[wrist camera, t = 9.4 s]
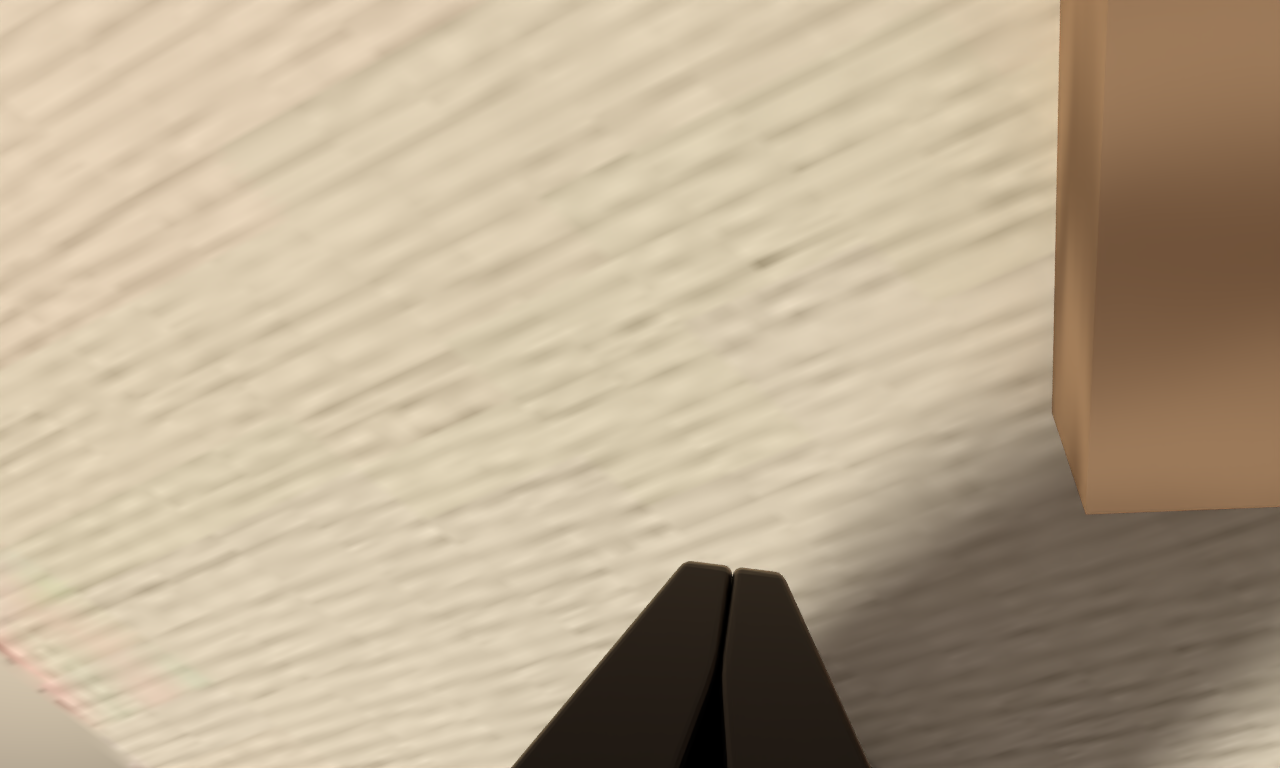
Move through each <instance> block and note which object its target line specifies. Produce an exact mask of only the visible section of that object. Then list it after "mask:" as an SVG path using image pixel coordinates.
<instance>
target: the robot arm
mask: <svg viewBox="0 0 1280 768" xmlns="http://www.w3.org/2000/svg"><path fill="white" fill-rule="evenodd" d="M511 768H871V767H870V765H869V763H868V761H867V758H866V756H865V754H864V752H863V750H862V747H861V745H860V743H859V741H858V739H857V736H856V734H855V732H854V730H853V727H852V725H851V723H850V721H849V719H848V716H847V714H846V712H845V710H844V708H843V705H842V703H841V701H840V699H839V697H838V694H837V692H836V690H835V688H834V686H833V683H832V681H831V679H830V677H829V675H828V672H827V670H826V668H825V666H824V663H823V661H822V659H821V657H820V655H819V652H818V650H817V648H816V646H815V644H814V641H813V639H812V637H811V635H810V633H809V630H808V628H807V626H806V624H805V622H804V619H803V617H802V615H801V613H800V611H799V608H798V606H797V604H796V602H795V600H794V597H793V595H792V593H791V591H790V588H789V586H788V584H787V582H786V580H785V579H784V577H783V576H782V575H781V574H779V573H777V572H772V571H764V570H757V569H749V568H738V569H736V570H735V572H734V573H733V577H732V572H731V570H730V568H729V567H727V566H725V565H718V564H710V563H702V562H694V561H688V562H685V563H684V564H682V565H681V566H680V567H679V568H678V569H677V571H676V572H675V573H674V574H673V575H672V577H671V578H670V579H669V580H668V581H667V582H666V584H665V585H664V586H663V587H662V588H661V590H660V591H659V592H658V593H657V594H656V596H655V597H654V598H653V599H652V600H651V602H650V603H649V604H648V605H647V606H646V608H645V609H644V610H643V611H642V612H641V613H640V615H639V616H638V617H637V618H636V619H635V621H634V622H633V623H632V624H631V625H630V627H629V628H628V629H627V630H626V631H625V633H624V634H623V635H622V636H621V637H620V639H619V640H618V641H617V642H616V643H615V644H614V646H613V647H612V648H611V649H610V650H609V652H608V653H607V654H606V655H605V656H604V658H603V659H602V660H601V661H600V662H599V664H598V665H597V666H596V667H595V668H594V670H593V671H592V672H591V673H590V674H589V675H588V677H587V678H586V679H585V680H584V681H583V683H582V684H581V685H580V686H579V687H578V689H577V690H576V691H575V692H574V693H573V695H572V696H571V697H570V698H569V699H568V701H567V702H566V703H565V704H564V705H563V706H562V708H561V709H560V710H559V711H558V712H557V714H556V715H555V716H554V717H553V718H552V720H551V721H550V722H549V723H548V724H547V726H546V727H545V728H544V729H543V730H542V732H541V733H540V734H539V735H538V736H537V738H536V739H535V740H534V741H533V742H532V743H531V745H530V746H529V747H528V748H527V749H526V751H525V752H524V753H523V754H522V755H521V757H520V758H519V759H518V760H517V761H516V763H515V764H514V765H513V766H512V767H511Z"/></svg>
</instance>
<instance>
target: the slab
mask: <svg viewBox="0 0 1280 768" xmlns="http://www.w3.org/2000/svg"><path fill="white" fill-rule="evenodd" d="M1052 414H1053V417H1054V420H1055V423H1056V426H1057V429H1058V432H1059V435H1060V438H1061V441H1062V444H1063V447H1064V450H1065V453H1066V456H1067V459H1068V462H1069V465H1070V468H1071V471H1072V474H1073V477H1074V480H1075V483H1076V486H1077V489H1078V492H1079V495H1080V498H1081V501H1082V504H1083V507H1084V510H1085V513H1086V514H1111V513H1136V512H1161V511H1186V510H1211V509H1236V508H1261V507H1280V0H1060V45H1059V95H1058V144H1057V194H1056V244H1055V294H1054V344H1053V394H1052Z"/></svg>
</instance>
